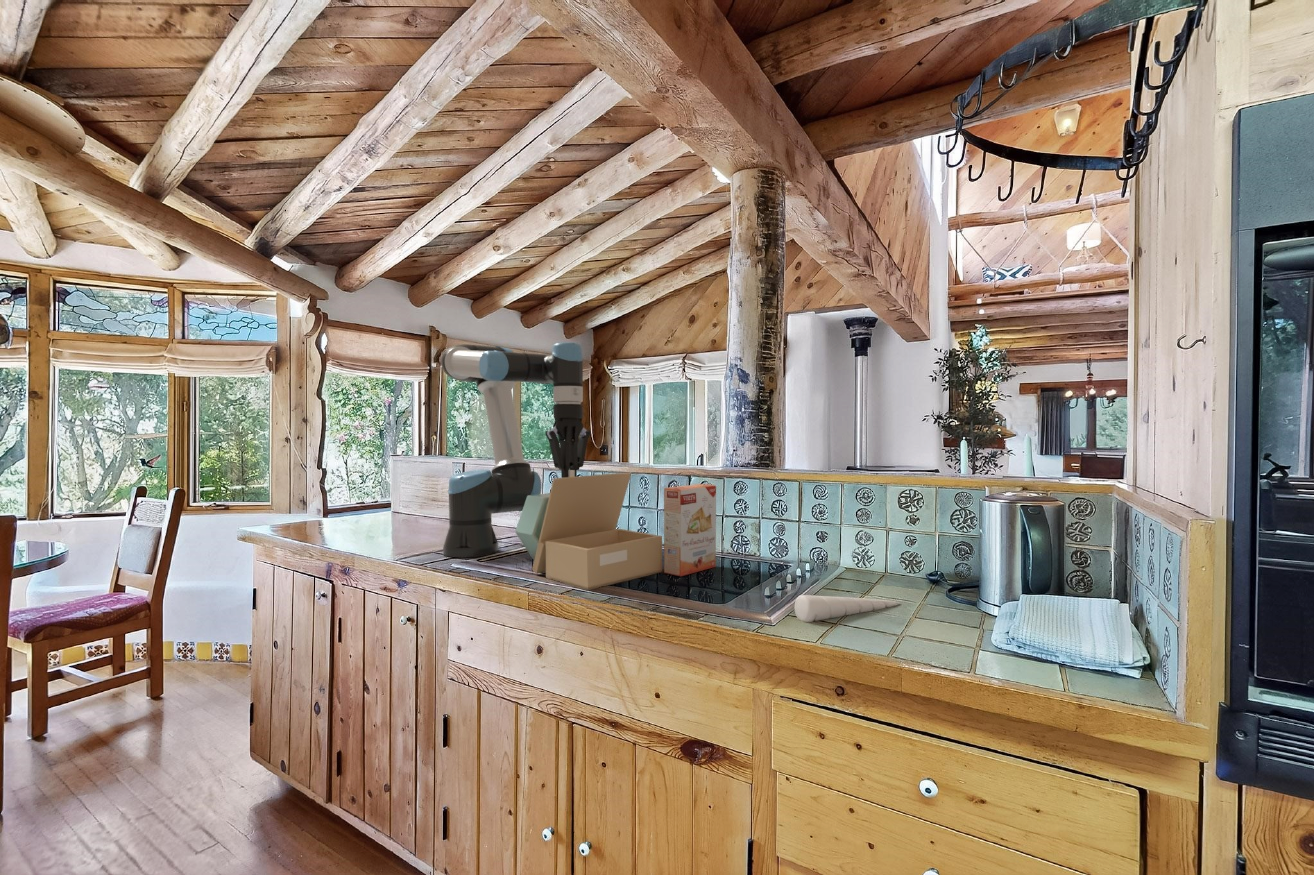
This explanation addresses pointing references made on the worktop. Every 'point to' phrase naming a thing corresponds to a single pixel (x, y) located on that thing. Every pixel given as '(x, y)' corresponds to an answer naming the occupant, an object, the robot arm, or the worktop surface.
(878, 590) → the worktop surface
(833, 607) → the unicorn horn
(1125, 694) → the worktop surface
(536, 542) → the planter
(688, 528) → the cracker box
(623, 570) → the mailer
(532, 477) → the robot arm
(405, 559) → the worktop surface
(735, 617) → the worktop surface
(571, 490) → the lid
